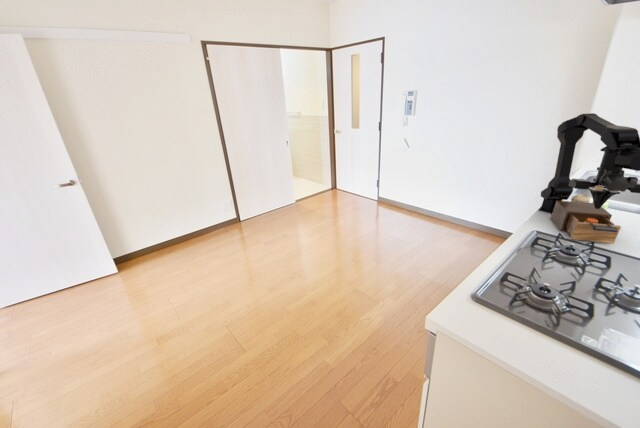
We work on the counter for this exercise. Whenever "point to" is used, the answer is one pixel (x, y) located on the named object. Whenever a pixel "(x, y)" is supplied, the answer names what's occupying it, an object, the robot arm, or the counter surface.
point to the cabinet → (574, 212)
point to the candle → (580, 198)
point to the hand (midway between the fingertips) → (596, 208)
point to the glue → (591, 220)
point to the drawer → (591, 228)
